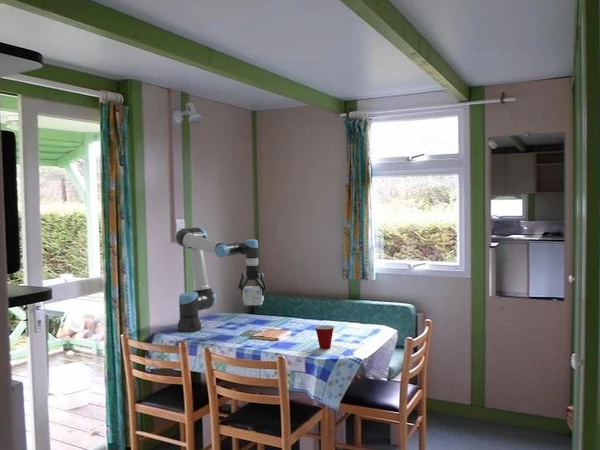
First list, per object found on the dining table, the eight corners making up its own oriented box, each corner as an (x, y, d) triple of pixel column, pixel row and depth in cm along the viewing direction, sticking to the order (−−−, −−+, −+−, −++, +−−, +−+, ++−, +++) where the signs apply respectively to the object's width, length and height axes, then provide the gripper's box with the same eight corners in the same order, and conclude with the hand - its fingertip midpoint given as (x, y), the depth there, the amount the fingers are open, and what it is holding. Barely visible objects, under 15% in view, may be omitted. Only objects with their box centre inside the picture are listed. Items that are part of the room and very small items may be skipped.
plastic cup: (333, 344, 289) (333, 323, 289) (335, 350, 278) (335, 328, 278) (314, 345, 289) (313, 324, 288) (315, 351, 278) (315, 328, 277)
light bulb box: (262, 303, 322) (262, 285, 321) (260, 305, 315) (260, 287, 315) (245, 303, 323) (245, 285, 322) (243, 305, 316) (243, 287, 316)
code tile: (239, 335, 314) (239, 335, 314) (248, 330, 327) (248, 329, 327) (270, 337, 307) (270, 337, 307) (278, 331, 321) (278, 331, 321)
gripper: (232, 265, 318) (232, 300, 319) (268, 266, 311) (268, 302, 312) (237, 263, 325) (238, 298, 326) (272, 264, 318) (273, 300, 319)
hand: (253, 300), depth 319 cm, fingers closed on light bulb box, 11 cm apart
